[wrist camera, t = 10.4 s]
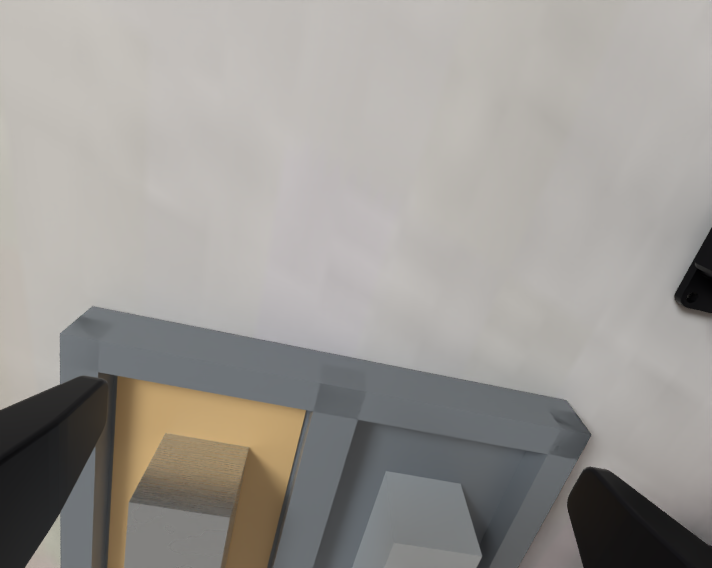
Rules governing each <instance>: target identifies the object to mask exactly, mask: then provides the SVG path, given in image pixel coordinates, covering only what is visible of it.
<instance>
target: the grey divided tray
mask: <svg viewBox="0 0 712 568" xmlns="http://www.w3.org/2000/svg"><path fill="white" fill-rule="evenodd" d="M82 375H85V376H91V377H97V378H102V379H105V380H106V381H107V383H108V408H107V420H106V424H105V427H104V430H103V432H102V434H101V436H100V438H99V440H98V442H97V444H96V445H95V447H94V449H93V451H92V453H91V455H90V457H89V459H88V461H87V463H86V465H85V467H84V469H83V470H82V472H81V474H80V476H79V478H78V480H77V482H76V484H75V486H74V488H73V490H72V492H71V494H70V495H69V497H68V499H67V501H66V503H65V505H64V507H63V509H62V510H61V512H60V517H61V568H124V561H125V547H126V534H127V520H128V507H129V501H130V499H131V497H132V495H133V493H134V492H135V490H136V488H137V486H138V484H139V482H140V480H141V478H142V476H143V475H144V473H145V471H146V469H147V467H148V465H149V463H150V461H151V459H152V457H153V456H154V454H155V452H156V450H157V448H158V446H159V444H160V442H161V440H162V439H163V437H164V435H165V433H169V434H175V435H181V436H187V437H192V438H198V439H204V440H210V441H216V442H222V443H227V444H233V445H239V446H245V447H249V450H248V455H247V460H246V465H245V471H244V476H243V481H242V486H241V491H240V496H239V501H238V506H237V511H236V516H235V521H234V526H233V531H232V537H231V542H230V547H229V552H228V557H227V562H226V567H225V568H518V567H519V565H520V563H521V561H522V559H523V558H524V556H525V554H526V552H527V550H528V549H529V547H530V545H531V543H532V541H533V539H534V538H535V536H536V534H537V532H538V530H539V529H540V527H541V525H542V523H543V521H544V520H545V518H546V516H547V514H548V512H549V511H550V509H551V507H552V505H553V503H554V502H555V500H556V498H557V496H558V494H559V492H560V491H561V489H562V487H563V485H564V483H565V482H566V480H567V478H568V476H569V474H570V473H571V471H572V469H573V467H574V465H575V464H576V462H577V460H578V458H579V456H580V455H581V453H582V451H583V449H584V447H585V446H586V444H587V442H588V440H589V438H590V436H591V433H590V432H589V431H588V429H587V428H586V427H585V425H584V424H583V422H582V421H581V420H580V418H579V417H578V415H577V414H576V413H575V411H574V410H573V409H572V407H571V406H570V404H569V403H568V402H567V400H562V399H557V398H552V397H547V396H542V395H537V394H532V393H527V392H522V391H517V390H512V389H507V388H502V387H497V386H492V385H486V384H481V383H476V382H471V381H466V380H461V379H456V378H451V377H446V376H441V375H436V374H431V373H426V372H421V371H416V370H411V369H406V368H401V367H396V366H391V365H386V364H381V363H376V362H371V361H366V360H360V359H355V358H350V357H345V356H340V355H335V354H330V353H325V352H320V351H315V350H310V349H305V348H300V347H295V346H290V345H285V344H280V343H275V342H270V341H265V340H260V339H255V338H250V337H245V336H239V335H234V334H229V333H224V332H219V331H214V330H209V329H204V328H199V327H194V326H189V325H184V324H179V323H174V322H169V321H164V320H159V319H154V318H149V317H144V316H139V315H134V314H129V313H124V312H118V311H113V310H108V309H103V308H98V307H93V306H92V307H91V308H90V309H89V310H87V311H86V312H85V313H84V314H83V315H81V316H80V317H79V318H78V319H77V320H75V321H74V322H73V323H72V324H71V325H70V326H68V327H67V328H66V329H65V330H64V331H62V332H61V333H60V384H62V383H64V382H67V381H69V380H71V379H74V378H76V377H79V376H82Z"/></svg>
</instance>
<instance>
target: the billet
mask: <svg viewBox="0 0 712 568" xmlns="http://www.w3.org/2000/svg"><path fill="white" fill-rule="evenodd" d="M248 450H249V447H245V446H239V445H233V444H227V443H222V442H216V441H210V440H204V439H198V438H192V437H187V436H181V435H175V434H169V433H165V435H164V437H163V439H162V440H161V442H160V444H159V446H158V448H157V450H156V452H155V454H154V456H153V457H152V459H151V461H150V463H149V465H148V467H147V469H146V471H145V473H144V475H143V476H142V478H141V480H140V482H139V484H138V486H137V488H136V490H135V492H134V493H133V495H132V497H131V499H130V501H129V507H128V520H127V534H126V547H125V561H124V568H225V567H226V562H227V557H228V552H229V547H230V542H231V537H232V531H233V526H234V521H235V516H236V511H237V506H238V501H239V496H240V491H241V486H242V481H243V476H244V471H245V465H246V460H247V455H248Z"/></svg>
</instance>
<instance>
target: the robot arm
mask: <svg viewBox="0 0 712 568" xmlns="http://www.w3.org/2000/svg"><path fill="white" fill-rule="evenodd" d="M690 293H692V294H691V296H690V297H689V298H687V296H688V295H689V294H690ZM686 298H687V299H686ZM675 300H676V301H677V302H678V303H679V304H681V305H683V306H685V307H687V308H691V309H695V310H700V311H704V312H708V313H712V228H711V230H710V232H709V234H708V235H707V237H706V239H705V241H704V242H703V244H702V246H701V248H700V250H699V251H698V253H697V255H696V257H695V259H694V260H693V262H692V264H691V266H690V268H689V269H688V271H687V273H686V275H685V276H684V278H683V280H682V282H681V284H680V285H679V287H678V289H677V291H676V293H675ZM107 408H108V383H107V381H106V380H105V379H102V378H97V377H91V376H85V375H82V376H79V377H76V378H74V379H71V380H69V381H67V382H64V383H62V384H60V385H57V386H55V387H53V388H50V389H48V390H46V391H43V392H41V393H39V394H37V395H34V396H32V397H30V398H27V399H25V400H23V401H20V402H18V403H16V404H13V405H11V406H9V407H6V408H4V409H2V410H0V568H25V566H26V565H27V563H28V562H29V560H30V559H31V557H32V556H33V554H34V553H35V551H36V550H37V548H38V547H39V545H40V544H41V542H42V541H43V539H44V538H45V536H46V535H47V533H48V531H49V530H50V528H51V527H52V525H53V524H54V522H55V520H56V519H57V517H58V516H59V514H60V512H61V510H62V509H63V507H64V505H65V503H66V501H67V499H68V497H69V495H70V494H71V492H72V490H73V488H74V486H75V484H76V482H77V480H78V478H79V476H80V474H81V472H82V470H83V469H84V467H85V465H86V463H87V461H88V459H89V457H90V455H91V453H92V451H93V449H94V447H95V445H96V444H97V442H98V440H99V438H100V436H101V434H102V432H103V430H104V427H105V424H106V420H107ZM567 507H568V513H569V516H570V520H571V523H572V527H573V531H574V534H575V538H576V542H577V545H578V549H579V553H580V556H581V560H582V563H583V567H584V568H712V548H711V547H710V546H708V545H707V544H706V543H705V542H703V541H702V540H701V539H699V538H698V537H697V536H695V535H694V534H693V533H691V532H690V531H689V530H687V529H686V528H685V527H683V526H682V525H681V524H679V523H678V522H677V521H676V520H674V519H673V518H672V517H670V516H669V515H668V514H666V513H665V512H664V511H662V510H661V509H660V508H658V507H657V506H656V505H654V504H653V503H652V502H650V501H649V500H648V499H647V498H645V497H644V496H643V495H641V494H640V493H639V492H637V491H636V490H635V489H633V488H632V487H631V486H629V485H628V484H627V483H625V482H624V481H623V480H621V479H620V478H619V477H618V476H616V475H615V474H614V473H612V472H611V471H609V470H606V469H601V468H595V467H587V468H586V469H584V470H583V471H582V473H581V475H580V477H579V478H578V480H577V482H576V484H575V485H574V487H573V489H572V491H571V493H570V494H569V497H568V501H567Z"/></svg>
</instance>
